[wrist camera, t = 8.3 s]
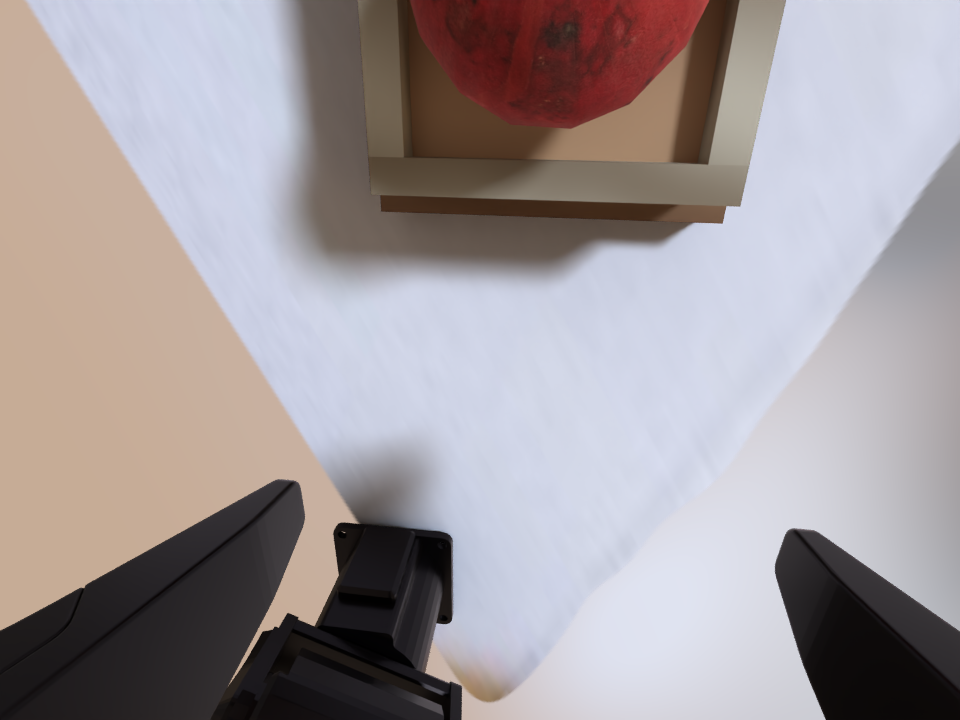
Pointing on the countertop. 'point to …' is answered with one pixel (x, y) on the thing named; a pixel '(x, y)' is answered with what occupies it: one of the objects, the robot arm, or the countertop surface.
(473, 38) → the onion
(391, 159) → the wooden tray on base
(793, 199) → the countertop surface
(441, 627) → the countertop surface
